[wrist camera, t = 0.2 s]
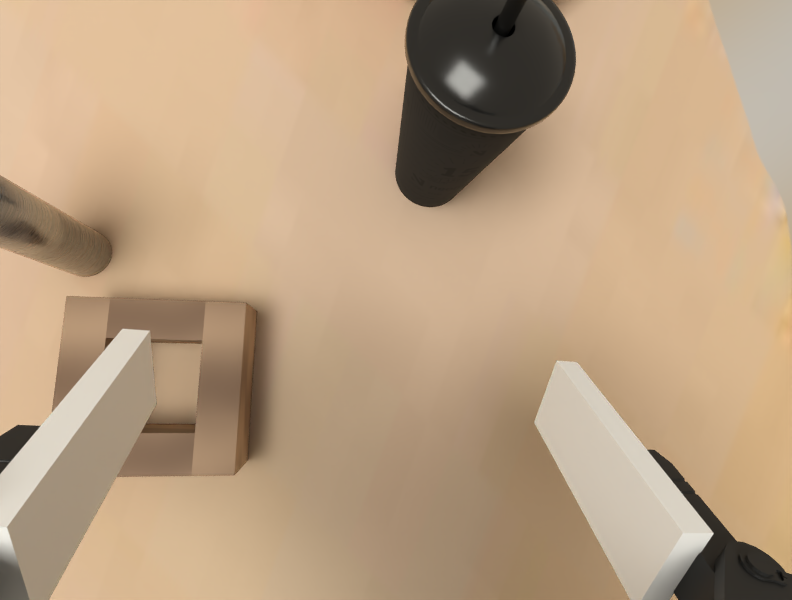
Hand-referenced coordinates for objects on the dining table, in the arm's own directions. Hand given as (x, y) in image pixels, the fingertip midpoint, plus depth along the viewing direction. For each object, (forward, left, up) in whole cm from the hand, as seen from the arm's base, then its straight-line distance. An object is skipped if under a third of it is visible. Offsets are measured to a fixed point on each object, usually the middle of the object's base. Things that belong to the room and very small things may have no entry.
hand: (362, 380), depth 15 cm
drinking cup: (+14, -5, -16) cm, 22 cm away
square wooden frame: (-1, +11, -15) cm, 19 cm away
